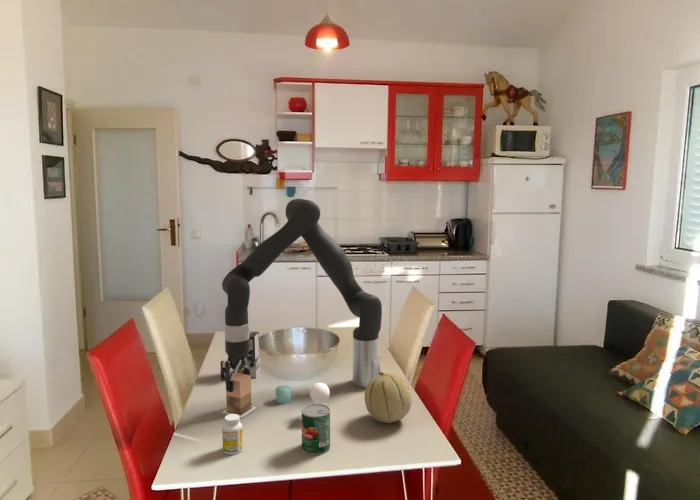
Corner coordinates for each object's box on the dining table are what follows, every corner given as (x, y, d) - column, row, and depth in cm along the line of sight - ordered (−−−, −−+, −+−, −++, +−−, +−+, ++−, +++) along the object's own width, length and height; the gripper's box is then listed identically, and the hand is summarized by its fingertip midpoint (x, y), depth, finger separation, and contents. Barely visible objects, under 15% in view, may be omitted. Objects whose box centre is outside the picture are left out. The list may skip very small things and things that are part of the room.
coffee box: (260, 372, 201) (259, 331, 199) (256, 378, 195) (255, 336, 193) (237, 371, 202) (236, 330, 200) (232, 377, 196) (231, 335, 193)
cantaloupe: (404, 435, 152) (405, 386, 150) (357, 426, 157) (357, 379, 155) (416, 413, 166) (417, 368, 164) (372, 406, 171) (372, 362, 169)
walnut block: (251, 408, 168) (251, 391, 168) (240, 415, 163) (240, 398, 163) (237, 405, 171) (237, 388, 170) (226, 411, 166) (226, 395, 165)
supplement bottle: (230, 457, 140) (229, 423, 139) (218, 450, 143) (217, 417, 142) (246, 449, 144) (246, 416, 143) (234, 443, 147) (233, 410, 146)
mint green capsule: (293, 401, 175) (293, 386, 174) (285, 407, 171) (285, 392, 170) (281, 398, 177) (281, 384, 177) (273, 404, 173) (272, 389, 172)
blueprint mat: (261, 408, 169) (261, 406, 169) (242, 421, 160) (242, 419, 160) (236, 402, 174) (236, 400, 174) (216, 415, 165) (216, 412, 165)
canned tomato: (296, 451, 143) (296, 413, 141) (308, 438, 150) (308, 402, 149) (323, 457, 140) (323, 418, 139) (334, 443, 147) (334, 406, 146)
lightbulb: (332, 414, 166) (332, 380, 164) (325, 422, 160) (325, 388, 158) (314, 411, 168) (314, 378, 166) (307, 419, 162) (306, 385, 160)
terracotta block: (251, 391, 168) (250, 375, 167) (240, 398, 163) (240, 381, 162) (237, 388, 170) (236, 372, 169) (226, 395, 165) (225, 378, 164)
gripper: (232, 345, 156) (234, 397, 158) (260, 332, 168) (261, 380, 171) (212, 342, 159) (214, 392, 161) (241, 329, 172) (242, 377, 174)
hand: (238, 386), depth 166 cm, fingers open, 8 cm apart
